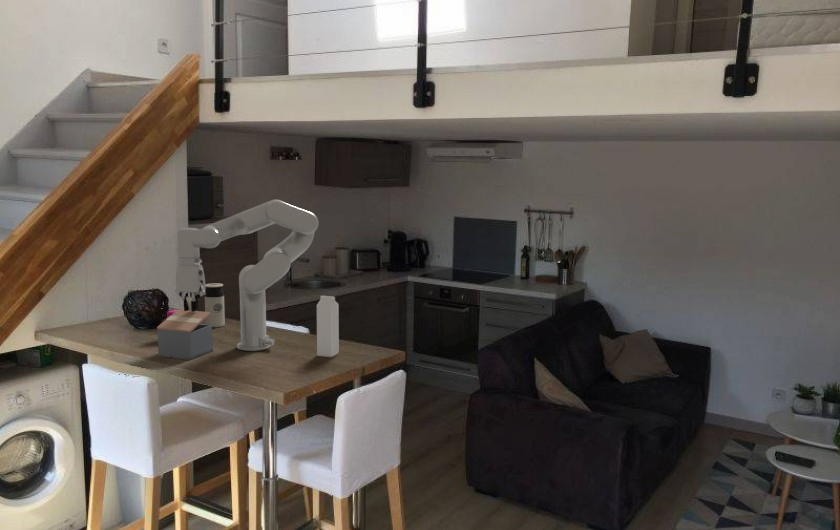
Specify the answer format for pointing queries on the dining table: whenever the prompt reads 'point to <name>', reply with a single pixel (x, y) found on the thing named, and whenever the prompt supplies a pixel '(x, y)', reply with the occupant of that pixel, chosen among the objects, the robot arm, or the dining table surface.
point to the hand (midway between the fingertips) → (191, 310)
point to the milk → (327, 326)
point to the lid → (184, 319)
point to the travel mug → (214, 305)
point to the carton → (185, 342)
